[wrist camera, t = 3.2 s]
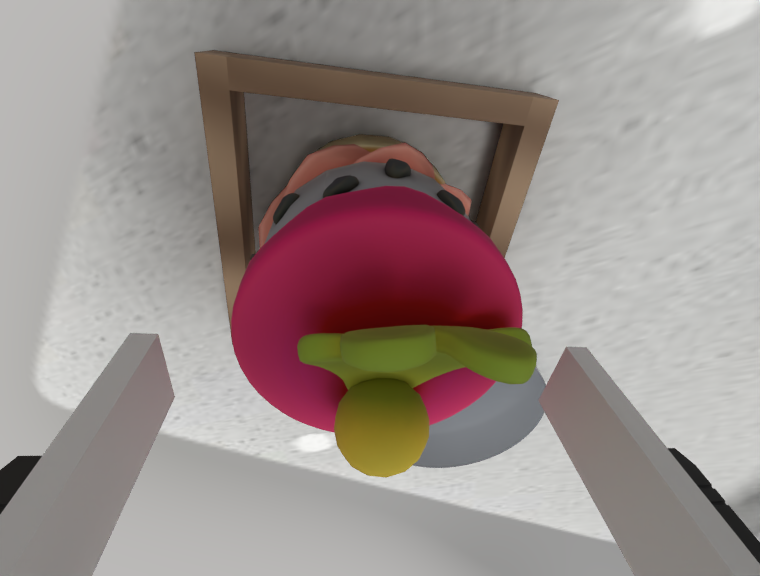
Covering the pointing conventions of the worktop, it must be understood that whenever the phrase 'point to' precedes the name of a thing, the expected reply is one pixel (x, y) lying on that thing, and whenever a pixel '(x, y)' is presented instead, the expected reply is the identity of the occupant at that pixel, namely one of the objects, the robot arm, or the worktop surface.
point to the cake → (376, 303)
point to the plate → (485, 425)
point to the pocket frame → (368, 89)
